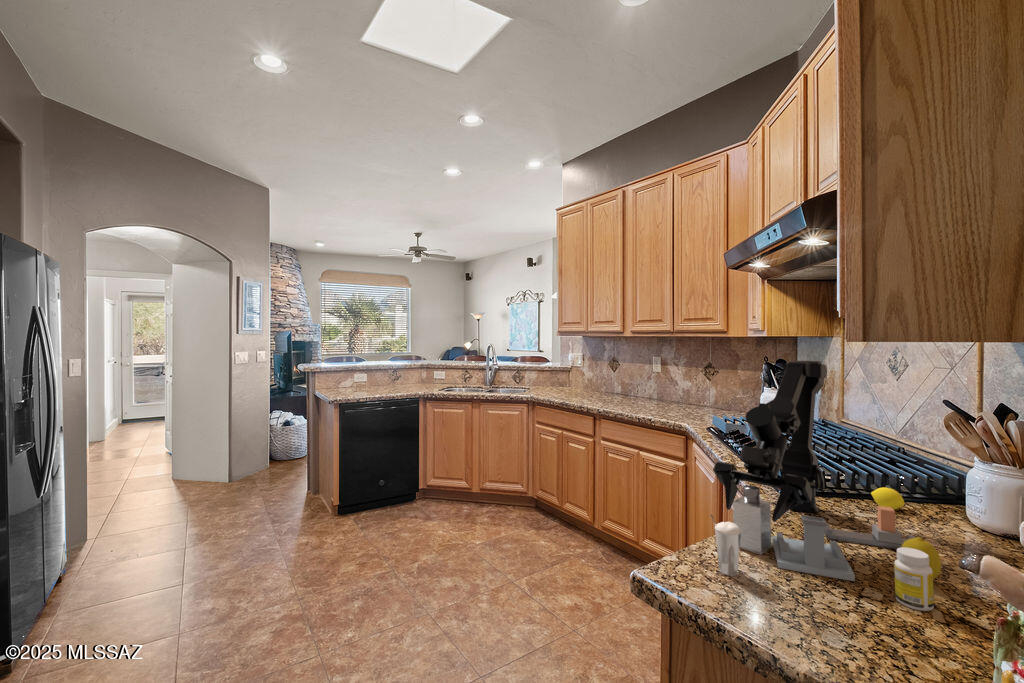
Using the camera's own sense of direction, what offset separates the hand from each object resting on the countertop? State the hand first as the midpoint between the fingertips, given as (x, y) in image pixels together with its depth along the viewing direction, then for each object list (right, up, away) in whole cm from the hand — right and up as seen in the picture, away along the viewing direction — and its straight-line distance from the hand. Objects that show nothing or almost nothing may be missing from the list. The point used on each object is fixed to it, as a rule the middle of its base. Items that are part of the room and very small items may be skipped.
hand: (749, 514), depth 95 cm
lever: (+30, -6, +1) cm, 30 cm away
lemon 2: (+23, -7, -14) cm, 28 cm away
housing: (+1, -7, +1) cm, 7 cm away
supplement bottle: (+16, -7, -21) cm, 27 cm away
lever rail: (+27, -7, +2) cm, 28 cm away
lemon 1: (+48, -7, +22) cm, 53 cm away
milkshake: (-10, -7, -10) cm, 16 cm away
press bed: (+9, -7, -6) cm, 13 cm away
